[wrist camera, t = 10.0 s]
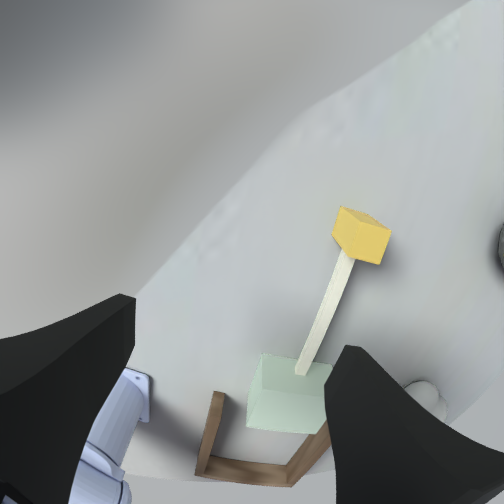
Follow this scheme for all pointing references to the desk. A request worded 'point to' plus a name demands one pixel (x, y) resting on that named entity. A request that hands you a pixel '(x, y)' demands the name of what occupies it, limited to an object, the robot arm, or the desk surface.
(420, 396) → the smooth white sculpture
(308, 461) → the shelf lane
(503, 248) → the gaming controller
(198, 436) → the desk surface
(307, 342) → the tethered block
